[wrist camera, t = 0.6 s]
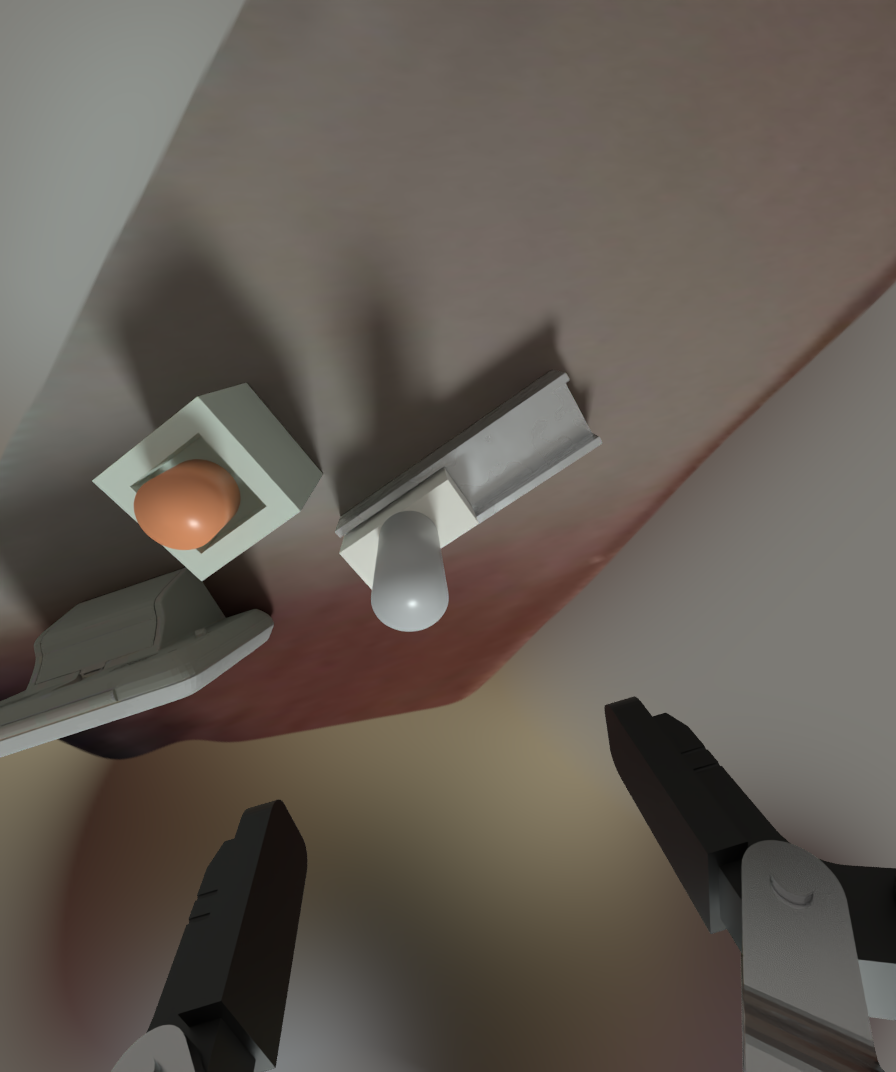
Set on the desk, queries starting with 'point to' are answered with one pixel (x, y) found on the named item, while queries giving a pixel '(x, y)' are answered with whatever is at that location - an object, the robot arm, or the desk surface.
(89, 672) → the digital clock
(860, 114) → the desk surface
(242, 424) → the button housing
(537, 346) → the desk surface
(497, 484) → the rail
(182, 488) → the button
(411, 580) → the carriage
